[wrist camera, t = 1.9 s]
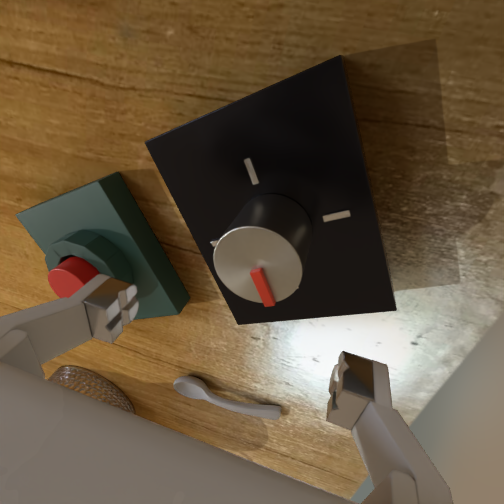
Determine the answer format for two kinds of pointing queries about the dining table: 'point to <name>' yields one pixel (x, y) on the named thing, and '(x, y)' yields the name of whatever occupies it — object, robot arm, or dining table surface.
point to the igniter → (108, 241)
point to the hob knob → (264, 249)
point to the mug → (92, 386)
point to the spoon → (223, 399)
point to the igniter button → (71, 276)
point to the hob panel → (286, 189)
